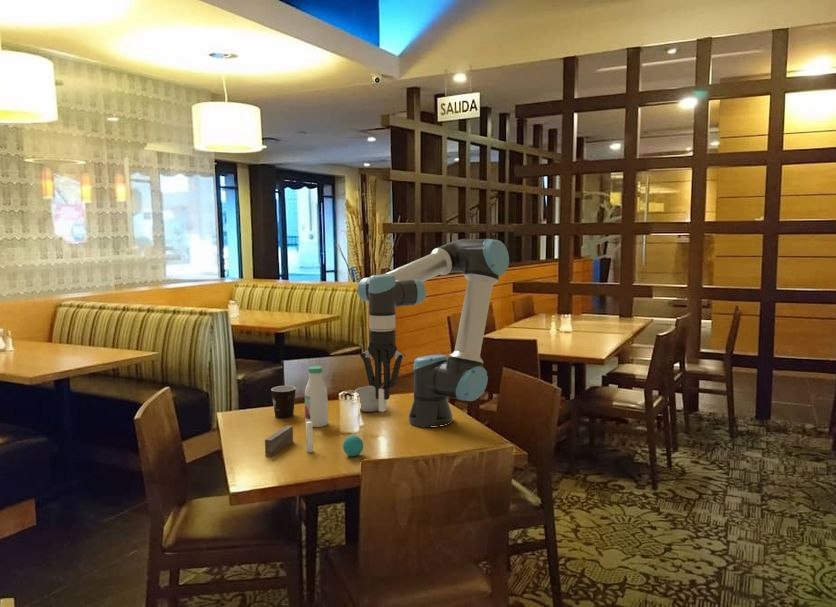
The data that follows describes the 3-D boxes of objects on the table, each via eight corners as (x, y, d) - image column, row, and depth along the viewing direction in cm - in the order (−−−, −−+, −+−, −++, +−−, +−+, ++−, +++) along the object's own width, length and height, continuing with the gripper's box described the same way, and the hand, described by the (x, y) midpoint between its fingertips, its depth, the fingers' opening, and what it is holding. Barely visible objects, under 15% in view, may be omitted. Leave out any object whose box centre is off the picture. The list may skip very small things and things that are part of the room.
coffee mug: (273, 412, 232) (272, 386, 231) (297, 412, 233) (296, 385, 231) (269, 422, 220) (268, 394, 219) (294, 421, 221) (293, 393, 220)
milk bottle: (330, 421, 221) (329, 365, 219) (325, 428, 214) (323, 370, 211) (308, 420, 222) (307, 364, 220) (302, 427, 214) (301, 369, 212)
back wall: (293, 441, 201) (292, 426, 200) (271, 456, 187) (271, 440, 187) (287, 440, 201) (286, 425, 201) (265, 456, 188) (264, 439, 187)
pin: (314, 450, 192) (313, 421, 191) (311, 452, 190) (310, 423, 189) (308, 450, 193) (307, 421, 192) (305, 452, 191) (304, 423, 190)
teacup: (372, 415, 228) (372, 393, 227) (349, 411, 234) (348, 389, 233) (394, 406, 240) (394, 385, 239) (371, 402, 245) (371, 382, 244)
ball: (366, 453, 190) (366, 433, 189) (359, 460, 184) (358, 440, 183) (347, 451, 192) (347, 431, 191) (340, 458, 186) (339, 438, 185)
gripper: (407, 328, 183) (408, 408, 185) (365, 326, 186) (365, 405, 189) (400, 332, 176) (400, 415, 178) (356, 330, 179) (356, 411, 182)
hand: (382, 410), depth 183 cm, fingers closed
